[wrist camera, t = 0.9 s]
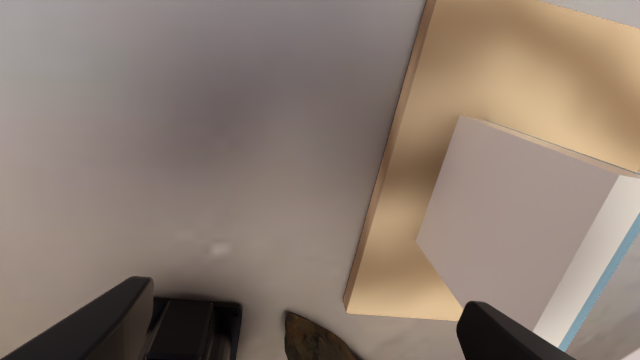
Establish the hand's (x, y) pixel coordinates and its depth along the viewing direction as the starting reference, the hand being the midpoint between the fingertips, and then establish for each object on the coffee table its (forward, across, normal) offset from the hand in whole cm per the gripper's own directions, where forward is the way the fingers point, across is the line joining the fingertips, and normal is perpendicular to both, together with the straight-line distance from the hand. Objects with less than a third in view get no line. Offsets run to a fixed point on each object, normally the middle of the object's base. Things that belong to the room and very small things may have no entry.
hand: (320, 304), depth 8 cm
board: (+12, -13, 0) cm, 18 cm away
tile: (+11, -9, 0) cm, 14 cm away
